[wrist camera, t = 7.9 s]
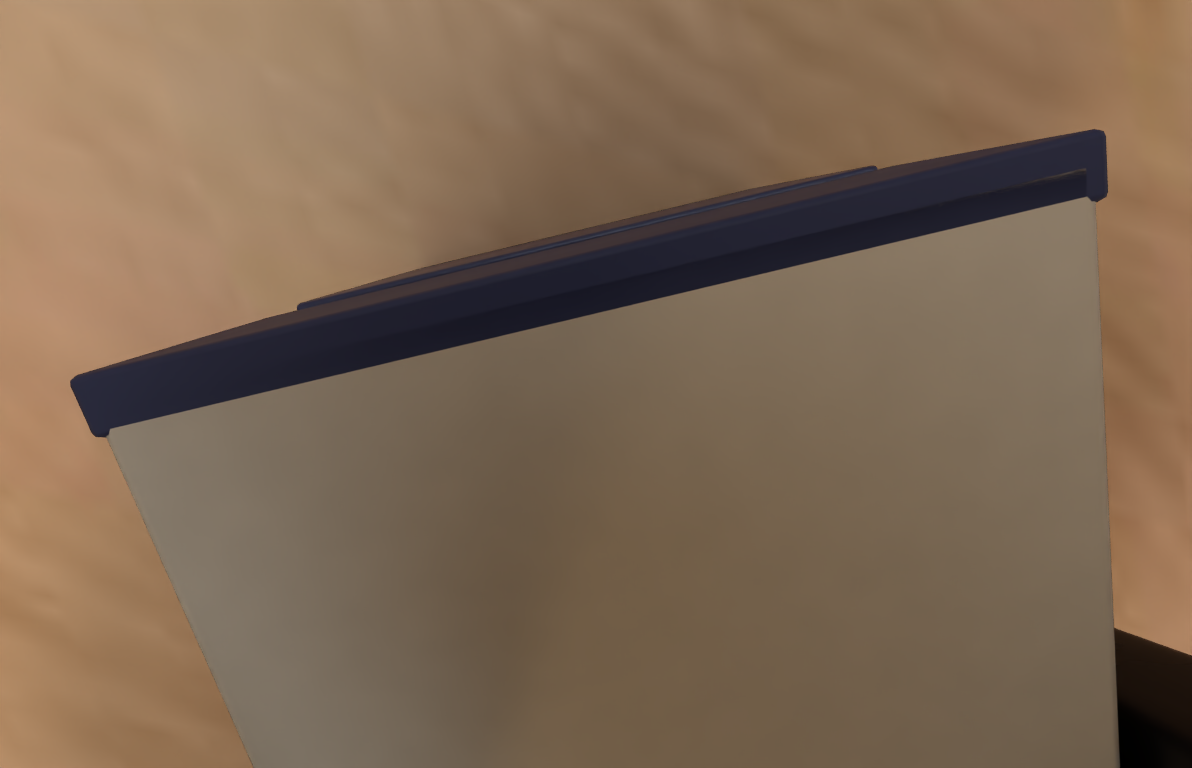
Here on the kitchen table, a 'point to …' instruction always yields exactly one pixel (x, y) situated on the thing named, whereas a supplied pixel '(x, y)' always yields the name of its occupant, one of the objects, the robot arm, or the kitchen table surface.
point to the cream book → (666, 491)
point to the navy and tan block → (581, 236)
